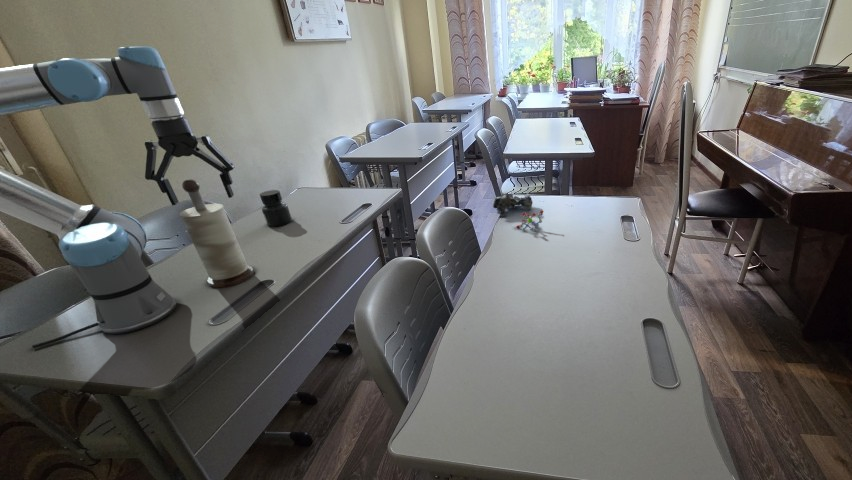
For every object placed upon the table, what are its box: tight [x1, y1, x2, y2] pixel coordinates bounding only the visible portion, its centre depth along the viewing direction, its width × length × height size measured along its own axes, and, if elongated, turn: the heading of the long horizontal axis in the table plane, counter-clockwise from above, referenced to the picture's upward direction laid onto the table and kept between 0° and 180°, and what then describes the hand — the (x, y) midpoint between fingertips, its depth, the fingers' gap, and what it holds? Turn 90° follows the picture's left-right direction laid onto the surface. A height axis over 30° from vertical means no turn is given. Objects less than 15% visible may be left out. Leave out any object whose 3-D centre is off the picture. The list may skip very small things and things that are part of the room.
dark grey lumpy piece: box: [492, 192, 533, 218], centre depth 153 cm, size 12×11×15 cm
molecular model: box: [515, 209, 544, 232], centre depth 137 cm, size 7×8×8 cm
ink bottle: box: [259, 189, 293, 227], centre depth 153 cm, size 10×9×12 cm
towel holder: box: [179, 178, 255, 288], centre depth 111 cm, size 12×29×12 cm
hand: (203, 200), depth 110 cm, fingers open, 13 cm apart
